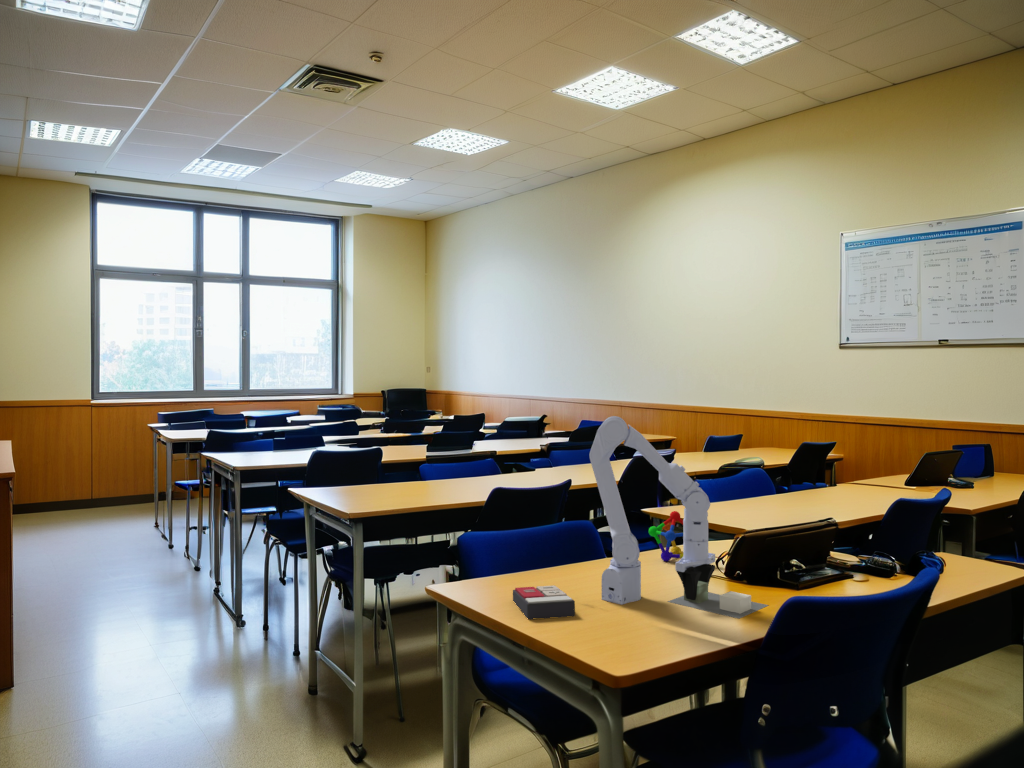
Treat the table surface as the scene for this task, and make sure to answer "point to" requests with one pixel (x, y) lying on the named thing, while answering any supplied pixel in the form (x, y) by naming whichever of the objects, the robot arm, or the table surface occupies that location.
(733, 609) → the base brick
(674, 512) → the educational toy
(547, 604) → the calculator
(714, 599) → the base mat
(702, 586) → the green cube
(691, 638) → the table surface
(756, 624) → the table surface
